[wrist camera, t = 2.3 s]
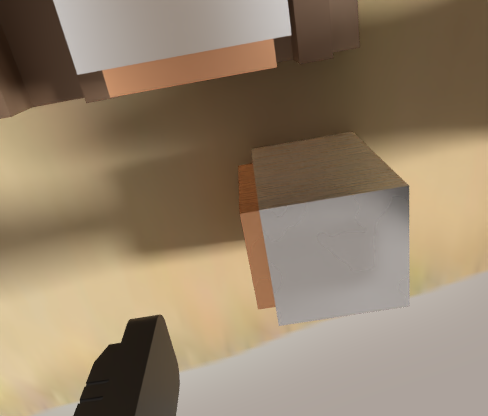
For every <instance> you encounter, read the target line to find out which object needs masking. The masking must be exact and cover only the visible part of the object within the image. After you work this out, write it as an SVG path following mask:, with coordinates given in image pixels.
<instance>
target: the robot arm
mask: <svg viewBox="0 0 488 416" xmlns="http://www.w3.org/2000/svg"><path fill="white" fill-rule="evenodd" d="M86 384H87V385H86V387H84V390H83V392H82V395H81V397H80V404H78V405H77V408H76V410H75V413H74V416H176V411H177V403H178V395H179V385H180V380H179V368H178V363H177V359H176V356H175V353H174V349H173V346H172V343H171V339H170V336H169V333H168V329H167V326H166V323H165V320H164V318H163V316H162V315H155V316H148V317H142V318H135V319H130V320H129V321H128V323H127V326H126V329H125V332H124V335H123V338H122V341H121V343H117V344H110V345H108V347H107V348H106V349H105V350H104V351H103V353H102V354H101V355H100V356H99V357H98V359H97V360H96V361H95V362H94V364H93V366H92V369H91V372H90V374H89V377H88V379H87V382H86Z"/></svg>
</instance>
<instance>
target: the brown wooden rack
mask: <svg viewBox="0 0 488 416" xmlns="http://www.w3.org/2000/svg"><path fill="white" fill-rule="evenodd" d="M359 47H360V41H359V21H358V1H357V0H0V119H1V118H6V117H12V116H14V115H16V114H18V113H20V112H23V111H25V110H27V109H29V108H32V107H36V106H41V105H46V104H52V103H57V102H63V101H68V100H74V99H79V98H85V101H86V103H89V102H94V101H100V100H106V99H111V98H117V97H119V96H122V95H128V94H133V93H139V92H144V91H150V90H155V89H161V88H166V87H172V86H177V85H183V84H188V83H194V82H199V81H205V80H210V79H216V78H221V77H227V76H232V75H238V74H243V73H249V72H254V71H260V70H265V69H271V68H276V67H277V62H282V61H288V60H295V61H296V62H298V63H299V64H304V63H309V62H315V61H320V60H326V59H331V58H333V52H337V51H343V50H348V49H354V48H359Z"/></svg>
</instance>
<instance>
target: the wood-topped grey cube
mask: <svg viewBox="0 0 488 416" xmlns="http://www.w3.org/2000/svg"><path fill="white" fill-rule="evenodd" d="M251 152H252V160H253V164H247V165H241V166H238V174H239V207H240V218H241V223H242V228H243V233H244V238H245V244H246V249H247V254H248V259H249V264H250V269H251V274H252V280H253V285H254V290H255V295H256V300H257V305H258V309H264V308H271V307H276V311H277V317H278V323H279V326H281V325H288V324H294V323H301V322H308V321H314V320H321V319H328V318H334V317H341V316H348V315H355V314H361V313H368V312H374V311H381V310H388V309H395V308H401V307H408V306H409V185H408V184H407V183H406V182H405V181H404V180H403V179H402V178H401V177H400V176H399V175H397V174H396V173H395V172H394V171H393V170H392V169H391V168H390V167H389V166H388V165H387V164H386V163H385V162H384V161H383V160H382V159H381V158H380V157H379V156H378V155H377V154H376V153H375V152H373V151H372V150H371V149H370V148H369V147H368V146H367V145H366V144H365V143H364V142H363V141H362V140H361V139H360V138H359V137H358V136H357V135H356V134H355V133H354V132H347V133H341V134H335V135H330V136H324V137H318V138H312V139H306V140H301V141H295V142H289V143H283V144H277V145H272V146H266V147H260V148H254V149H251Z"/></svg>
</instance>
